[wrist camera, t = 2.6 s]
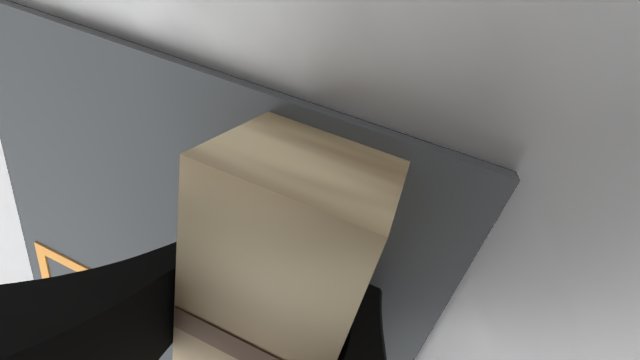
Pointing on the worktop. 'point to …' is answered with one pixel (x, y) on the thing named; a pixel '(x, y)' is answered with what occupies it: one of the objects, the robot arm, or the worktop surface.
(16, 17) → the rubber mat
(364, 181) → the cream block
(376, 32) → the worktop surface
